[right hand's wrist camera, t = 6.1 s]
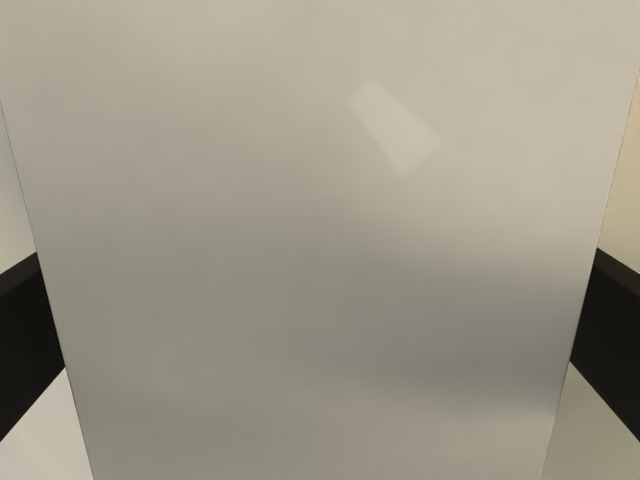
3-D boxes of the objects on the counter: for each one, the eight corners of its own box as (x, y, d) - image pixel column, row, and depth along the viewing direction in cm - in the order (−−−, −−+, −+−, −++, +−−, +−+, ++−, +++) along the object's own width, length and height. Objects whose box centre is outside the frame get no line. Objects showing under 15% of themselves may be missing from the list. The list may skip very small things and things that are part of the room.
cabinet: (159, -167, 14) (-211, -722, 4) (476, -167, 14) (835, -722, 4) (209, 315, 20) (106, 540, 10) (427, 315, 20) (527, 540, 10)
